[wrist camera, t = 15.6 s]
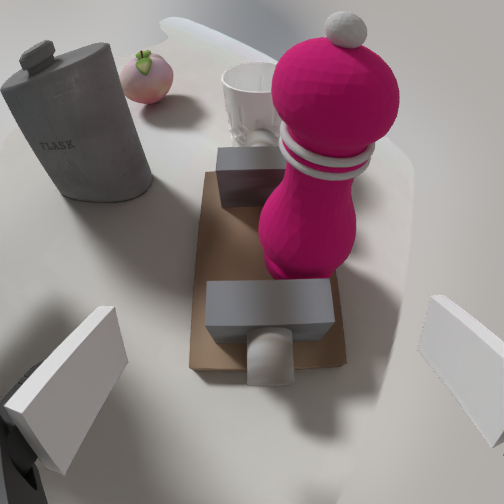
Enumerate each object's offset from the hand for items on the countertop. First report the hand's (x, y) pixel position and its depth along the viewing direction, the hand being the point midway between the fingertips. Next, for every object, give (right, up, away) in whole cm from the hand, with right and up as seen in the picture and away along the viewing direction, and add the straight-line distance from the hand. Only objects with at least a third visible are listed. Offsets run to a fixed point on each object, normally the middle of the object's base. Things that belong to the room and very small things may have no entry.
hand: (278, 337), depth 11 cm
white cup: (0, +16, +24) cm, 29 cm away
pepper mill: (+3, +3, +15) cm, 15 cm away
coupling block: (0, +3, +16) cm, 16 cm away
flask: (-20, +12, +22) cm, 32 cm away
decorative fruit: (-17, +27, +31) cm, 45 cm away
